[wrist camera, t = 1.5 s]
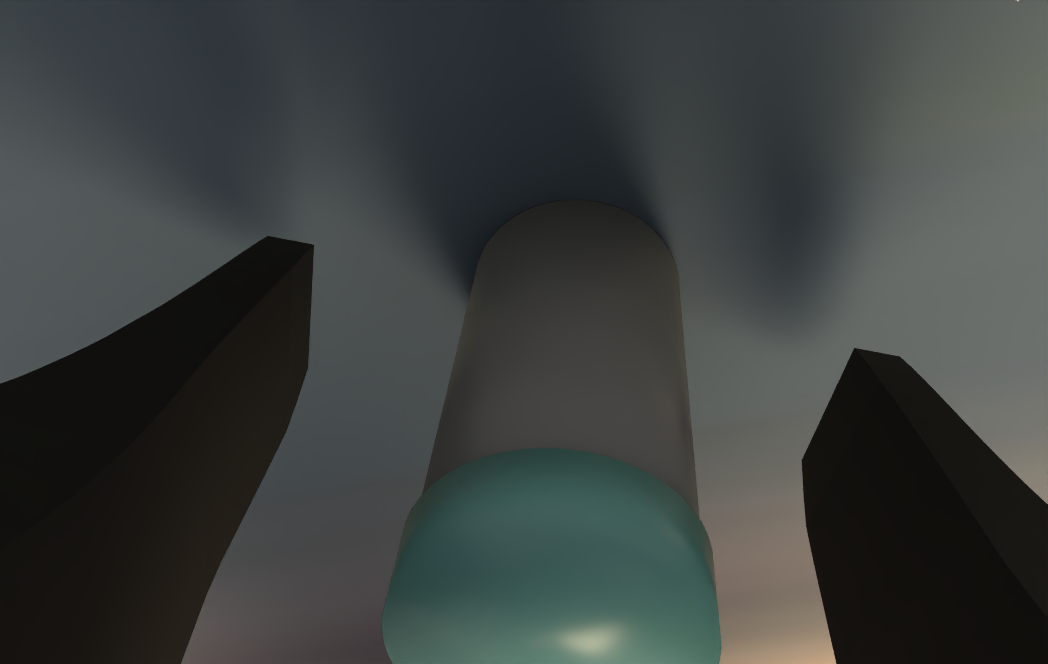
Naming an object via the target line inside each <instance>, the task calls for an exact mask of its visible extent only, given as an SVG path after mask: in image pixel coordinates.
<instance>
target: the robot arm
mask: <svg viewBox="0 0 1048 664" xmlns="http://www.w3.org/2000/svg"><path fill="white" fill-rule="evenodd" d="M313 254H314V245H312V244H307V243H302V242H297V241H291V240H286V239H281V238H276V237H271V236H267V237H265V238H264V239H262V240H261V241H259V242H257V243H256V244H254V245H253V246H251V247H250V248H248V249H247V250H245V251H244V252H242V253H241V254H239V255H238V256H236V257H235V258H233V259H232V260H230V261H229V262H227V263H226V264H224V265H223V266H221V267H220V268H218V269H217V270H215V271H214V272H212V273H211V274H209V275H208V276H206V277H205V278H204V279H202V280H201V281H199V282H197V283H196V284H194V285H193V286H191V287H190V288H188V289H187V290H185V291H183V292H182V293H180V294H179V295H177V296H176V297H174V298H172V299H171V300H169V301H168V302H166V303H165V304H163V305H161V306H160V307H158V308H156V309H154V310H153V311H151V312H149V313H147V314H146V315H144V316H142V317H140V318H139V319H137V320H135V321H133V322H131V323H130V324H128V325H126V326H124V327H123V328H121V329H119V330H117V331H116V332H114V333H112V334H110V335H109V336H107V337H105V338H103V339H101V340H99V341H97V342H95V343H93V344H91V345H89V346H87V347H85V348H83V349H81V350H79V351H77V352H75V353H73V354H71V355H68V356H66V357H64V358H62V359H59V360H57V361H55V362H53V363H50V364H48V365H46V366H44V367H41V368H39V369H37V370H35V371H32V372H30V373H27V374H25V375H22V376H20V377H18V378H15V379H12V380H9V381H7V382H4V383H1V384H0V664H181V662H182V659H183V656H184V654H185V651H186V648H187V645H188V643H189V640H190V637H191V635H192V632H193V629H194V627H195V624H196V621H197V619H198V616H199V613H200V611H201V608H202V605H203V603H204V600H205V597H206V595H207V592H208V590H209V588H210V585H211V583H212V581H213V579H214V576H215V574H216V572H217V570H218V567H219V565H220V563H221V561H222V559H223V557H224V555H225V553H226V551H227V549H228V547H229V545H230V543H231V541H232V539H233V537H234V535H235V533H236V531H237V529H238V527H239V525H240V523H241V521H242V519H243V517H244V515H245V513H246V511H247V509H248V507H249V505H250V503H251V501H252V499H253V497H254V495H255V493H256V491H257V489H258V487H259V485H260V484H261V482H262V480H263V478H264V476H265V474H266V471H267V469H268V467H269V465H270V463H271V461H272V459H273V457H274V455H275V453H276V451H277V449H278V447H279V445H280V443H281V441H282V439H283V437H284V435H285V433H286V431H287V428H288V425H289V422H290V420H291V417H292V414H293V411H294V408H295V405H296V403H297V400H298V396H299V393H300V390H301V387H302V384H303V381H304V378H305V375H306V372H307V369H308V357H309V336H310V316H311V295H312V274H313ZM802 473H803V492H804V505H805V517H806V527H807V532H808V537H809V542H810V547H811V552H812V556H813V561H814V566H815V570H816V575H817V579H818V584H819V588H820V593H821V597H822V602H823V606H824V610H825V615H826V619H827V624H828V628H829V633H830V637H831V642H832V646H833V650H834V655H835V659H836V664H1048V504H1047V503H1045V502H1044V501H1043V500H1042V499H1041V498H1040V497H1039V496H1038V495H1037V494H1036V493H1035V492H1034V491H1032V490H1031V489H1030V488H1029V487H1028V486H1027V485H1026V484H1025V483H1024V482H1023V481H1022V480H1021V479H1020V478H1019V477H1018V476H1017V475H1016V474H1015V473H1014V472H1013V471H1012V470H1011V469H1010V468H1009V467H1008V466H1007V465H1006V464H1005V463H1004V462H1003V461H1002V460H1001V459H1000V458H999V457H998V456H997V455H996V454H995V453H994V452H993V451H992V450H991V449H990V448H989V447H988V446H987V445H986V444H985V443H984V442H983V441H982V440H981V439H980V438H979V436H978V435H977V434H976V433H975V432H974V431H973V430H972V429H971V428H970V427H969V426H968V425H967V424H966V423H965V422H964V421H963V420H962V419H961V418H960V417H959V416H958V414H957V413H956V412H955V411H954V410H953V409H952V408H951V407H950V406H949V405H948V404H947V403H946V402H945V401H944V400H943V399H942V398H941V397H940V396H939V394H938V393H937V392H936V391H935V390H934V389H933V388H932V387H931V386H930V385H929V384H928V383H927V382H926V381H925V380H924V379H923V378H922V377H921V376H920V375H919V374H918V373H917V372H916V371H915V370H914V369H913V368H912V367H911V366H910V365H908V364H907V363H906V362H905V361H904V360H903V359H902V358H901V357H899V356H894V355H889V354H883V353H878V352H873V351H868V350H862V349H857V348H854V350H853V352H852V354H851V356H850V359H849V361H848V363H847V365H846V367H845V369H844V371H843V373H842V376H841V378H840V380H839V382H838V384H837V386H836V388H835V390H834V393H833V395H832V397H831V399H830V401H829V403H828V405H827V408H826V410H825V412H824V414H823V416H822V418H821V420H820V422H819V425H818V427H817V429H816V431H815V433H814V435H813V437H812V440H811V442H810V444H809V446H808V448H807V450H806V452H805V454H804V457H803V459H802Z"/></svg>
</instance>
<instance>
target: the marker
mask: <svg viewBox="0 0 1048 664" xmlns="http://www.w3.org/2000/svg"><path fill="white" fill-rule="evenodd" d="M382 635H383V641H384V645H385V648H386V650H387V653H388V656H389V658H390V660H391V661H392V663H393V664H719V661H720V654H721V635H720V625H719V615H718V604H717V594H716V584H715V574H714V564H713V553H712V548H711V544H710V540H709V537H708V534H707V532H706V530H705V528H704V526H703V524H702V522H701V520H700V519H699V510H698V498H697V487H696V475H695V463H694V452H693V440H692V429H691V417H690V406H689V394H688V383H687V371H686V359H685V348H684V336H683V325H682V313H681V302H680V290H679V279H678V273H677V269H676V265H675V262H674V260H673V258H672V255H671V253H670V251H669V250H668V248H667V246H666V245H665V243H664V242H663V241H662V239H661V238H660V237H659V236H658V234H657V233H656V232H655V231H653V230H652V229H651V228H650V227H649V226H648V225H647V224H646V223H644V222H643V221H641V220H640V219H639V218H637V217H636V216H634V215H632V214H630V213H628V212H626V211H624V210H622V209H619V208H617V207H614V206H612V205H608V204H604V203H600V202H594V201H587V200H563V201H554V202H550V203H545V204H541V205H538V206H536V207H533V208H530V209H528V210H526V211H524V212H522V213H520V214H518V215H516V216H515V217H513V218H512V219H510V220H509V221H507V222H506V223H505V224H504V225H503V226H502V227H500V228H499V229H498V230H497V231H496V232H495V234H494V235H493V236H492V237H491V238H490V240H489V241H488V243H487V244H486V246H485V248H484V249H483V251H482V254H481V256H480V258H479V261H478V265H477V269H476V273H475V277H474V281H473V285H472V289H471V294H470V298H469V302H468V306H467V310H466V314H465V319H464V323H463V327H462V331H461V335H460V339H459V343H458V348H457V352H456V356H455V360H454V364H453V368H452V373H451V377H450V381H449V385H448V389H447V393H446V398H445V402H444V406H443V410H442V414H441V418H440V422H439V427H438V431H437V435H436V439H435V443H434V447H433V452H432V456H431V460H430V464H429V468H428V472H427V477H426V481H425V485H424V489H423V493H422V495H421V496H420V498H419V499H418V501H417V502H416V503H415V505H414V506H413V508H412V509H411V511H410V514H409V516H408V518H407V520H406V522H405V526H404V530H403V534H402V538H401V542H400V546H399V550H398V554H397V558H396V562H395V566H394V570H393V574H392V578H391V582H390V586H389V590H388V594H387V598H386V601H385V606H384V610H383V614H382Z"/></svg>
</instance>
